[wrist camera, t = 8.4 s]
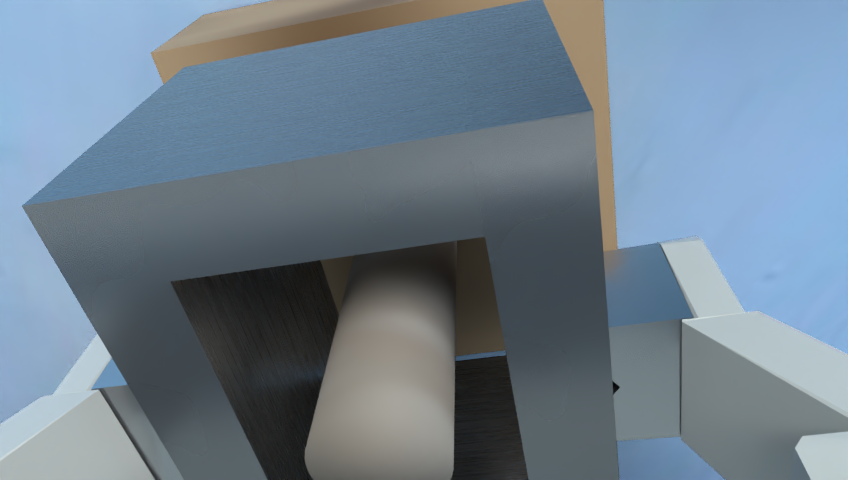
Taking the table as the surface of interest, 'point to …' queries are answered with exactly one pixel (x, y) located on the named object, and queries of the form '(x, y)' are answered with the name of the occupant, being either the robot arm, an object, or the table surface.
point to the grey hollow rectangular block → (347, 238)
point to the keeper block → (399, 254)
